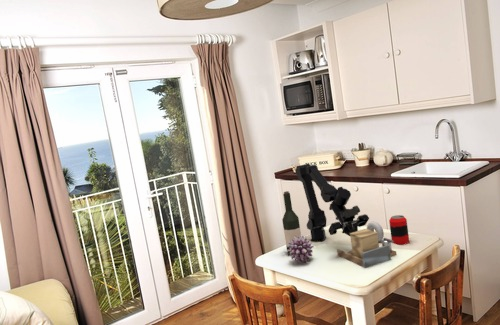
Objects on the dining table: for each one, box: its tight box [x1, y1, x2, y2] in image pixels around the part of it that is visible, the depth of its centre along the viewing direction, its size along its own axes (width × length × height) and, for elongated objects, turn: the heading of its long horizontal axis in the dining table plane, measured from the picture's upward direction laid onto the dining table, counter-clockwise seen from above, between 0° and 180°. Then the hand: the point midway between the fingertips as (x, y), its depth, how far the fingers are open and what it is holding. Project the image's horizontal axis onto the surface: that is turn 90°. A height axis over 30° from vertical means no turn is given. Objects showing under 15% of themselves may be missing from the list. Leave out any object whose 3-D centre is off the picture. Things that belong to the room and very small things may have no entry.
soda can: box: [388, 214, 410, 246], centre depth 194 cm, size 8×8×12 cm
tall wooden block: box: [349, 228, 380, 259], centre depth 179 cm, size 8×8×11 cm
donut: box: [366, 221, 385, 243], centre depth 200 cm, size 10×4×10 cm, turn 24°
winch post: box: [381, 237, 397, 258], centre depth 179 cm, size 6×5×8 cm
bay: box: [336, 245, 392, 269], centre depth 182 cm, size 20×13×7 cm, turn 21°
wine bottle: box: [281, 191, 302, 257], centre depth 202 cm, size 8×8×30 cm
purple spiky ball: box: [286, 235, 314, 263], centre depth 189 cm, size 12×12×12 cm
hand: (358, 240), depth 183 cm, fingers closed
